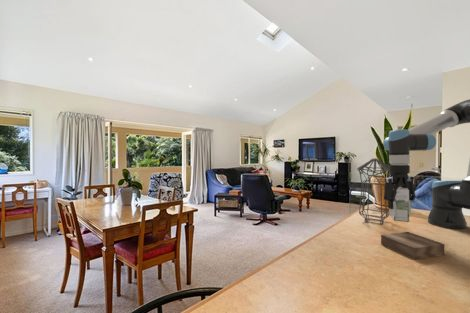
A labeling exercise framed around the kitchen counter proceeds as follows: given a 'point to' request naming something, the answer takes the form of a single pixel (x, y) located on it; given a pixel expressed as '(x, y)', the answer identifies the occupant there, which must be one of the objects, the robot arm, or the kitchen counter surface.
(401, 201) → the syrup box
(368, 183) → the geometric lantern
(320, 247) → the kitchen counter surface
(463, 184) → the robot arm
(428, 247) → the walnut base
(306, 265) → the kitchen counter surface
